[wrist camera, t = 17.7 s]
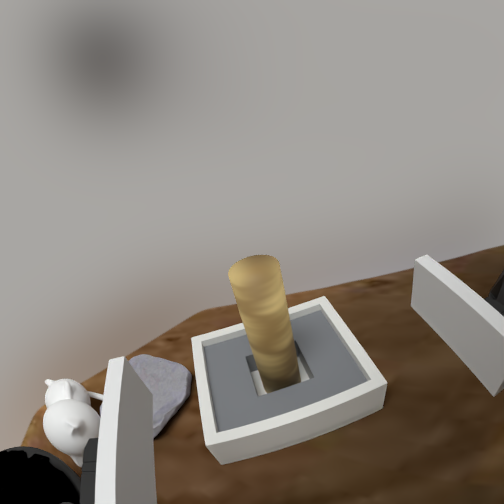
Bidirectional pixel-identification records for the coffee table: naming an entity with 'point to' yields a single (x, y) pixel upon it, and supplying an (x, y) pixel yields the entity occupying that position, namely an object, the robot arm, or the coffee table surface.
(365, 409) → the hole box
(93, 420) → the cat figurine
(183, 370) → the stone block
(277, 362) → the peg
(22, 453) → the coal bowl
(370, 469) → the coffee table surface
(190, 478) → the coffee table surface
